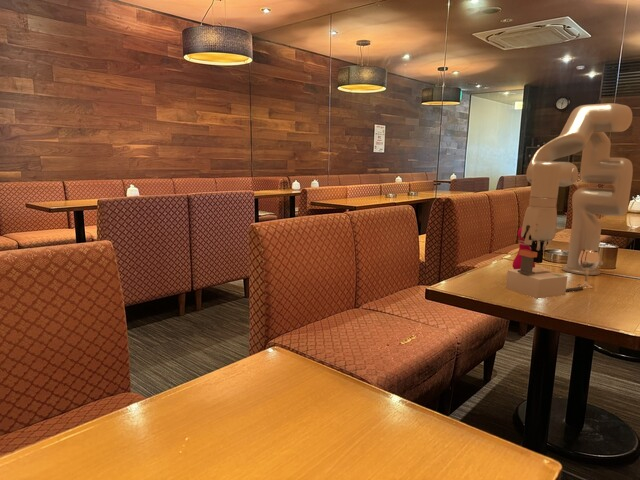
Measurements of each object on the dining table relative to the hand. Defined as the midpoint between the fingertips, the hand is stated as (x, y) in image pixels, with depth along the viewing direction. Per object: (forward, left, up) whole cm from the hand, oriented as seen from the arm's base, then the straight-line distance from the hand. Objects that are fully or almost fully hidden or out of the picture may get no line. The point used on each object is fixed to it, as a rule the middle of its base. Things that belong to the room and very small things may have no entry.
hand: (536, 262), depth 139 cm
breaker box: (-6, 0, -10) cm, 11 cm away
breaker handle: (+4, 0, -4) cm, 5 cm away
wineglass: (-23, +1, -10) cm, 25 cm away
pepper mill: (-11, -14, -10) cm, 20 cm away
